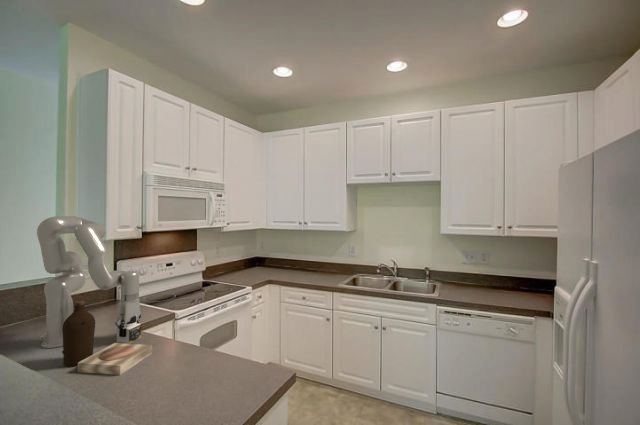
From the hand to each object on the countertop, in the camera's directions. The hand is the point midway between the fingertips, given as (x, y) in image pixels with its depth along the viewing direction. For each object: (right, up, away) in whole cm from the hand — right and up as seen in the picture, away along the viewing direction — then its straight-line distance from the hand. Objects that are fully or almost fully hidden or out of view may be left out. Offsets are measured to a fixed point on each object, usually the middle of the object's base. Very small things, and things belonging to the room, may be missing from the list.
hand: (129, 333), depth 143 cm
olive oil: (-7, -3, -21) cm, 23 cm away
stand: (+9, -3, -21) cm, 23 cm away
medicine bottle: (0, -4, 0) cm, 4 cm away
